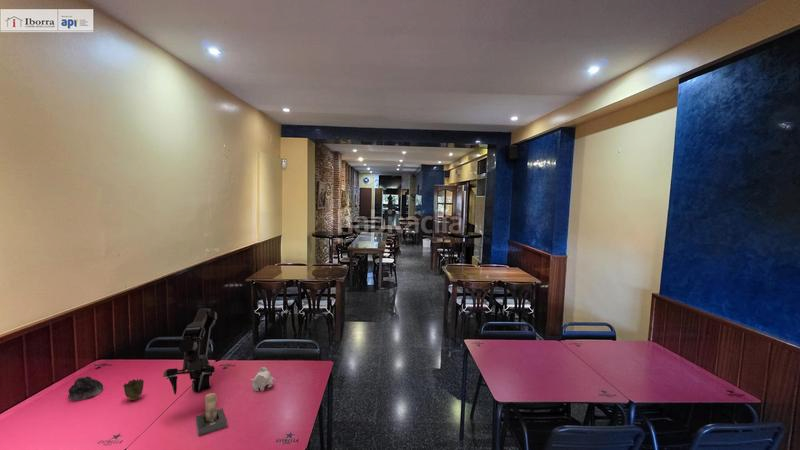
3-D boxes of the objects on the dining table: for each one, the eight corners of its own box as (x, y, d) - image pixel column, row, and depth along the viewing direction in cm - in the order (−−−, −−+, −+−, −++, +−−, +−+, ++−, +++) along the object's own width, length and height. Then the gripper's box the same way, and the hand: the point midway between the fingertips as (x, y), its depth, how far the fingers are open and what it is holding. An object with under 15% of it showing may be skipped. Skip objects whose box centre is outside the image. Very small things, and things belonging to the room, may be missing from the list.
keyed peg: (205, 424, 145) (204, 395, 144) (215, 420, 147) (215, 392, 146) (206, 430, 141) (206, 400, 140) (217, 427, 143) (217, 397, 142)
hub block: (196, 422, 146) (195, 415, 145) (222, 414, 151) (222, 407, 151) (198, 436, 137) (198, 428, 137) (226, 427, 143) (226, 419, 143)
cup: (133, 405, 157) (132, 387, 157) (119, 402, 159) (119, 385, 158) (148, 396, 165) (147, 379, 164) (135, 394, 166) (134, 377, 166)
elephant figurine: (273, 392, 170) (273, 374, 169) (247, 394, 168) (247, 376, 167) (277, 382, 179) (277, 365, 179) (252, 384, 177) (252, 367, 177)
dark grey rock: (90, 386, 173) (86, 367, 172) (112, 387, 171) (108, 368, 170) (60, 403, 160) (55, 383, 159) (84, 404, 158) (79, 384, 157)
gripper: (171, 353, 145) (166, 394, 139) (220, 351, 157) (217, 389, 151) (165, 356, 152) (160, 396, 146) (212, 354, 164) (209, 390, 158)
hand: (187, 393), depth 150 cm, fingers open, 9 cm apart
